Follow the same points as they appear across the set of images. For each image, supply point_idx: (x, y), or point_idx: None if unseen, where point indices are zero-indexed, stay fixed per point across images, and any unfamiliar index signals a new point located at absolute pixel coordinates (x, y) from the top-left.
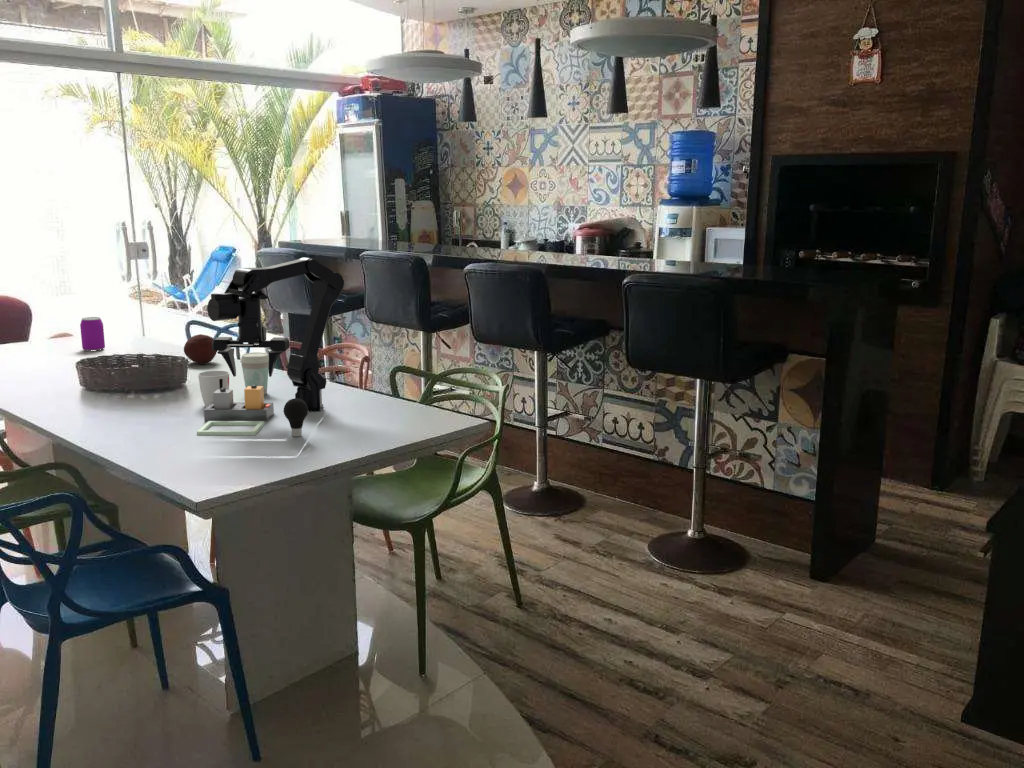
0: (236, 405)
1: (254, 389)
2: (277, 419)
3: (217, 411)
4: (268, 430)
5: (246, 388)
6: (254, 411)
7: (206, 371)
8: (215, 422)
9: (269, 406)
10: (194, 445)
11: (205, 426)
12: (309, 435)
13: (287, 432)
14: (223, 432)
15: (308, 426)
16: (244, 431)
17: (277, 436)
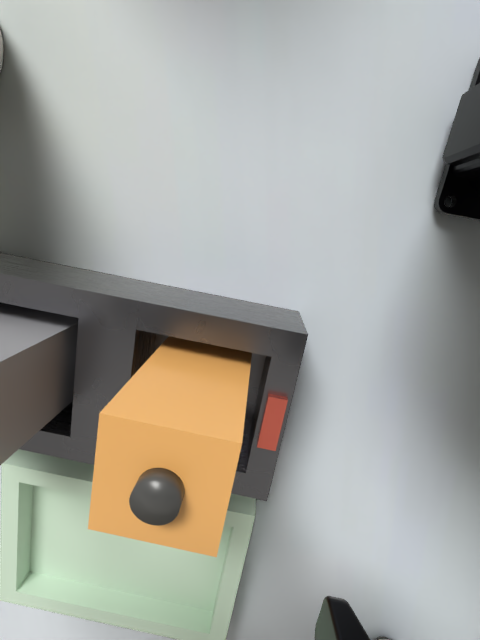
0: (82, 369)
1: (172, 546)
2: (315, 360)
3: None
4: (273, 527)
5: (100, 502)
6: None
7: None
8: (37, 483)
9: (282, 429)
10: (33, 637)
11: (13, 544)
12: (434, 621)
13: (350, 568)
14: (103, 620)
15: (451, 505)
16: (183, 637)
17: (309, 606)
